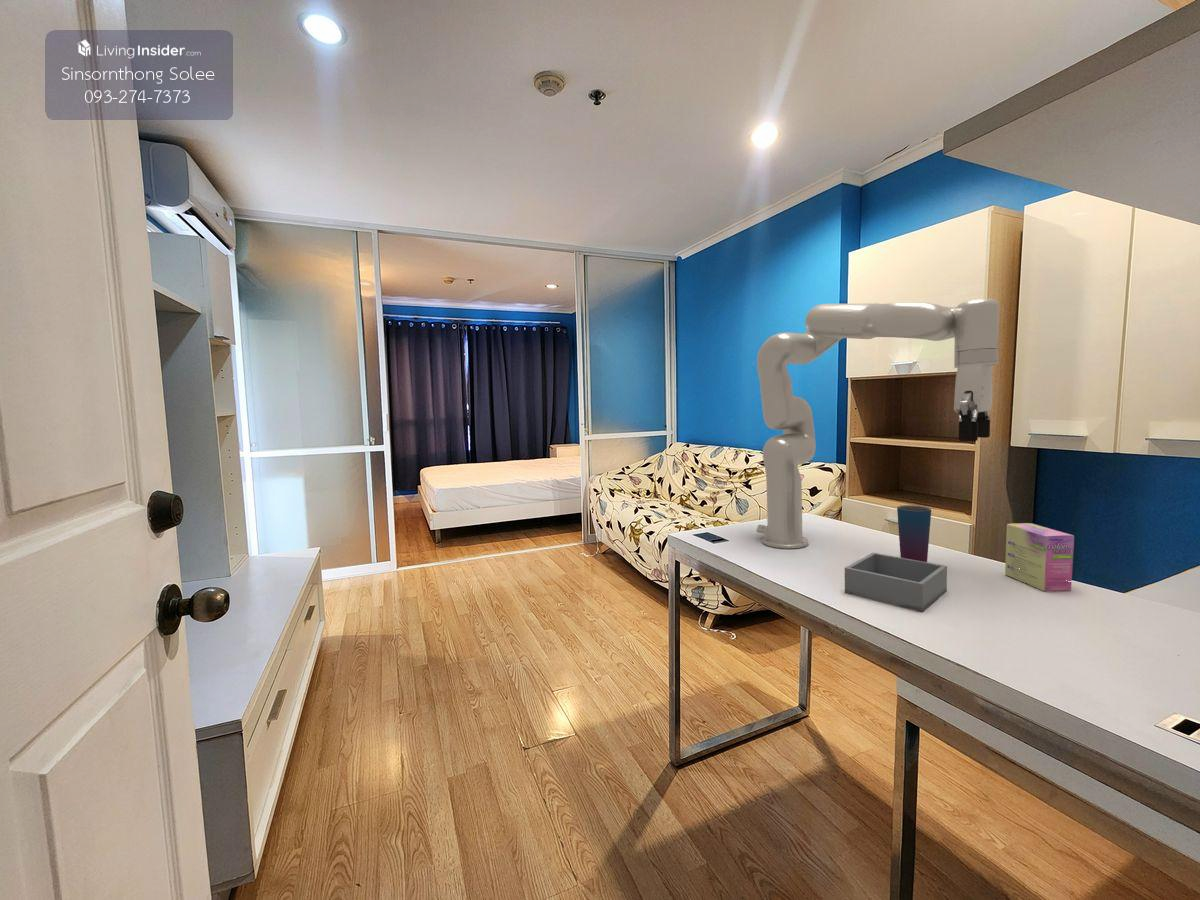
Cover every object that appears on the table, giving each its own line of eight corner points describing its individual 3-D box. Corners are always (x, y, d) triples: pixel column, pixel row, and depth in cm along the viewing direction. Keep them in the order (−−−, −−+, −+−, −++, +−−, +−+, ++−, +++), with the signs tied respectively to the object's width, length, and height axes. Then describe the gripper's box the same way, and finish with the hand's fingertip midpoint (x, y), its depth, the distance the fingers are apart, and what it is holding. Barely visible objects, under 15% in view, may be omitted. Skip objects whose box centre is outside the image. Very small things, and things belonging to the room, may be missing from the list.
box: (1072, 591, 102) (1074, 534, 101) (1044, 592, 102) (1046, 535, 101) (1030, 574, 112) (1031, 522, 111) (1004, 575, 112) (1005, 523, 111)
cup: (937, 574, 115) (938, 510, 114) (908, 575, 115) (908, 511, 113) (918, 565, 122) (919, 504, 120) (890, 566, 122) (890, 505, 120)
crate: (844, 592, 107) (844, 567, 106) (872, 575, 116) (872, 552, 116) (922, 612, 96) (922, 584, 95) (946, 591, 105) (947, 565, 104)
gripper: (966, 362, 115) (965, 435, 117) (942, 360, 104) (941, 442, 106) (1007, 358, 110) (1005, 436, 111) (986, 356, 99) (985, 442, 100)
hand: (974, 439), depth 108 cm, fingers open, 9 cm apart
